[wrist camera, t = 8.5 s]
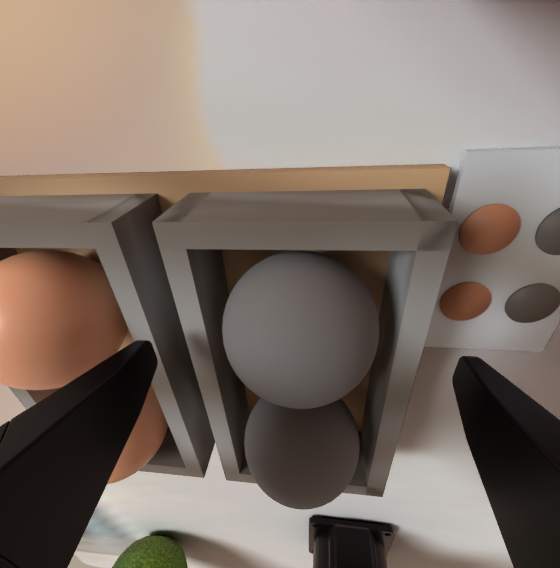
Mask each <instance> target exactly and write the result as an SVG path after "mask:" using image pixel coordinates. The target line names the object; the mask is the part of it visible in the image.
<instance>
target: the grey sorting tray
mask: <svg viewBox="0 0 560 568" xmlns="http://www.w3.org/2000/svg"><path fill="white" fill-rule="evenodd" d="M449 172H450V168H449V167H448V166H446V165H445V164H428V165H391V166H354V167H317V168H280V169H243V170H206V171H169V172H133V173H96V174H60V175H59V174H58V175H25V176H23V175H22V176H0V261H2V260H4V259H6V258H8V257H11V256H14V255H17V254H21V253H25V252H30V251H37V250H60V251H66V252H72V253H76V254H79V255H82V256H84V257H87V258H89V259H92V260H94V261H95V262H97V263H99V264H100V265H102V266H103V268H104V270H105V273H106V275H107V278H108V280H109V282H110V285H111V287H112V290H113V292H114V295H115V297H116V299H117V302H118V304H119V307H120V309H121V312H122V314H123V316H124V319H125V321H126V324H127V326H128V331H127V334H126V337H125V339H124V341H123V343H122V345H121V347H120V348H119V350H118V351H120V350H121V349H123V348H124V347H126V346H128V345H129V344H131V343H132V342H134V341H136V340H148V341H150V342H151V343H152V345H153V348H154V351H155V353H156V356H157V359H158V365H157V369H156V372H155V374H154V377H153V380H152V383H151V384H152V387H153V389H154V391H155V394H156V396H157V399H158V401H159V404H160V406H161V408H162V411H163V413H164V416H165V418H166V421H167V423H168V428H167V432H166V434H165V437H164V440H163V442H162V444H161V446H160V448H159V449H158V451H157V452H156V453H155V455H154V456H153V457H152V458H151V460H150V461H149V462H148V463H147V464H146V465H145V466H143V467H142V468H141V469H140V470H138V471H146V472H155V473H165V474H174V475H183V476H193V477H202V478H204V476H205V473H206V470H207V467H208V463H209V460H210V457H211V454H212V450H213V447H214V444H215V443H216V446H217V450H218V453H219V456H220V460H221V463H222V467H223V470H224V474H225V477H226V480H230V481H239V482H249V483H256V481H255V479H254V478H253V476H252V474H251V472H250V469H249V467H248V464H247V460H246V456H245V446H244V438H245V431H246V425H247V422H248V419H249V416H250V414H251V412H252V409H253V408H254V406H255V405H256V403H257V402H258V400H259V399H260V398H261V397H259V396H258V395H256V394H255V393H254V392H252V391H251V390H250V389H249V388H248V387H247V386H246V385H245V384H244V383H243V382H242V381H241V380H240V378H239V377H238V376H237V375H236V373H235V372H234V370H233V368H232V366H231V364H230V362H229V360H228V358H227V354H226V351H225V347H224V343H223V334H222V324H223V315H224V310H225V306H226V303H227V300H228V298H229V296H230V294H231V292H232V290H233V288H234V287H235V285H236V284H237V282H238V281H239V280H240V278H241V277H242V276H243V275H244V274H245V273H246V272H247V271H248V270H249V269H250V268H252V267H253V266H254V265H256V264H257V263H259V262H260V261H262V260H264V259H266V258H268V257H270V256H272V255H275V254H279V253H282V252H288V251H300V250H301V251H312V252H317V253H321V254H325V255H328V256H330V257H332V258H335V259H337V260H339V261H340V262H342V263H343V264H345V265H346V266H347V267H349V268H350V269H351V270H352V271H354V272H355V273H356V274H357V275H358V277H359V278H360V279H361V280H362V281H363V283H364V284H365V286H366V287H367V289H368V290H369V292H370V294H371V296H372V298H373V300H374V303H375V306H376V309H377V313H378V320H379V342H378V347H377V351H376V354H375V358H374V360H373V363H372V365H371V367H370V369H369V370H368V372H367V374H366V375H365V377H364V378H363V379H362V380H361V382H360V383H359V384H358V385H357V386H356V387H355V388H354V389H353V390H352V391H350V392H349V393H348V394H346V395H345V396H344V397H342V398H341V399H342V400H343V401H344V402H345V404H346V405H347V407H348V408H349V410H350V411H351V413H352V415H353V418H354V420H355V423H356V426H357V429H358V435H359V445H360V449H359V459H358V463H357V467H356V471H355V473H354V475H353V478H352V479H351V481H350V483H349V484H348V486H347V487H346V488H345V490H344V491H343V492H342V493H351V494H360V495H370V496H379V497H383V493H384V490H385V486H386V482H387V479H388V475H389V471H390V468H391V464H392V460H393V457H394V453H395V449H396V446H397V442H398V439H399V435H400V431H401V428H402V424H403V420H404V417H405V413H406V409H407V406H408V402H409V398H410V395H411V391H412V388H413V384H414V380H415V377H416V373H417V369H418V366H419V362H420V358H421V355H422V351H423V347H439V348H461V349H483V350H505V351H527V352H542V351H543V350H544V348H545V346H546V344H547V343H548V341H549V339H550V337H551V336H552V334H553V332H554V330H555V328H556V327H557V325H558V323H559V321H560V147H542V148H511V149H480V150H464V152H463V156H462V160H461V164H460V168H459V172H458V176H457V180H456V184H455V188H454V192H453V196H452V200H451V204H450V208H449V211H448V210H447V209H446V208H445V207H444V206H443V205H442V202H443V197H444V193H445V189H446V185H447V181H448V176H449ZM118 351H117V352H118ZM8 387H9V386H8ZM9 388H10V389H11V390H12V392H13V393H14V394H15V396H16V397H17V398H18V399H19V401H20V402H21V403H22V404H23V406H24V407H25V408H26V410H27V409H28V408H30V407H32V406H33V405H35V404H36V403H38V402H39V401H41V400H43V399H44V398H46V397H47V396H49V395H50V394H52V393H54V392H55V391H57V390H58V389H60V388H61V387H60V388H55V389H48V390H26V389H17V388H13V387H9Z"/></svg>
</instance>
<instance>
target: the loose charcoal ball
mask: <svg viewBox="0 0 560 568" xmlns="http://www.w3.org/2000/svg"><path fill="white" fill-rule="evenodd" d="M222 334H223V343H224V347H225V351H226V354H227V358H228V360H229V362H230V364H231V366H232V368H233V370H234V372H235V373H236V375H237V376H238V377H239V378H240V380H241V381H242V382H243V383H244V384H245V385H246V386H247V387H248V388H249V389H250V390H251V391H252V392H254V393H255V394H256V395H258V396H259V397H261V398H263V399H264V400H266V401H268V402H270V403H273V404H276V405H279V406H282V407H287V408H294V409H310V408H317V407H321V406H324V405H327V404H330V403H332V402H334V401H337V400H339V399H340V398H342V397H344V396H345V395H346V394H348V393H349V392H350V391H352V390H353V389H354V388H355V387H356V386H357V385H358V384H359V383H360V382H361V380H362V379H363V378H364V377H365V375H366V374H367V372H368V370H369V369H370V367H371V365H372V363H373V360H374V358H375V354H376V351H377V347H378V342H379V320H378V313H377V309H376V306H375V303H374V300H373V298H372V296H371V294H370V292H369V290H368V289H367V287H366V286H365V284H364V283H363V281H362V280H361V279H360V278H359V277H358V275H357V274H356V273H355V272H354V271H352V270H351V269H350V268H349V267H347V266H346V265H345V264H343V263H342V262H340V261H339V260H337V259H335V258H332V257H330V256H328V255H325V254H321V253H317V252H312V251H301V250H300V251H288V252H282V253H279V254H275V255H272V256H270V257H268V258H266V259H264V260H262V261H260V262H259V263H257V264H256V265H254V266H253V267H252V268H250V269H249V270H248V271H247V272H246V273H245V274H244V275H243V276H242V277H241V278H240V280H239V281H238V282H237V284H236V285H235V287H234V288H233V290H232V292H231V294H230V296H229V298H228V300H227V303H226V306H225V310H224V315H223V324H222Z"/></svg>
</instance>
